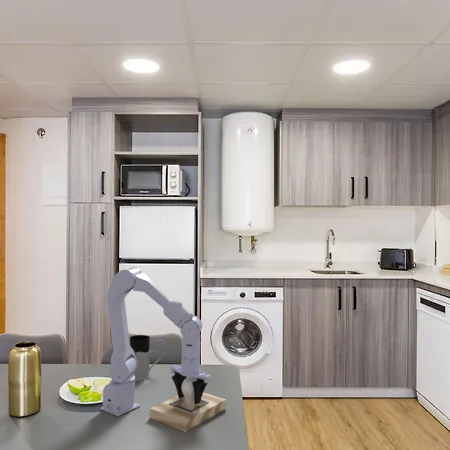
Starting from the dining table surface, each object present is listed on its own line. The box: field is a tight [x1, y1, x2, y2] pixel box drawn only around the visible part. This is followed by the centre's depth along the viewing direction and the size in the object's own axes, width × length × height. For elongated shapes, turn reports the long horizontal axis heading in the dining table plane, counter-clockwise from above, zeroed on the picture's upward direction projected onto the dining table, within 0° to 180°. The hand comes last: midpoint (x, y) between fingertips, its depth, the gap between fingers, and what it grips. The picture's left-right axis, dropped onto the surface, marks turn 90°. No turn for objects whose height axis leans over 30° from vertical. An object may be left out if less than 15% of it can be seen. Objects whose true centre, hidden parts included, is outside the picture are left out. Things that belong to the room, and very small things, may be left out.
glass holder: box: [129, 334, 166, 382], centre depth 165 cm, size 9×14×15 cm, turn 108°
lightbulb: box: [181, 377, 197, 410], centre depth 134 cm, size 6×6×11 cm
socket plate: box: [149, 391, 227, 433], centre depth 133 cm, size 20×14×3 cm
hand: (189, 400), depth 133 cm, fingers closed on lightbulb, 6 cm apart
